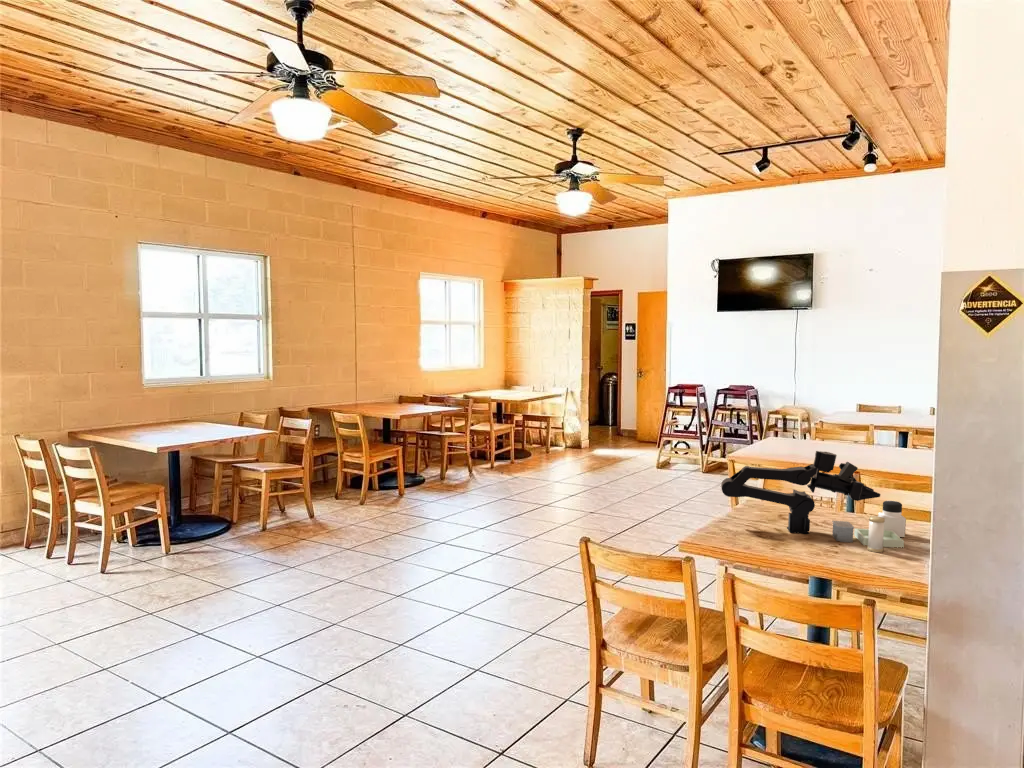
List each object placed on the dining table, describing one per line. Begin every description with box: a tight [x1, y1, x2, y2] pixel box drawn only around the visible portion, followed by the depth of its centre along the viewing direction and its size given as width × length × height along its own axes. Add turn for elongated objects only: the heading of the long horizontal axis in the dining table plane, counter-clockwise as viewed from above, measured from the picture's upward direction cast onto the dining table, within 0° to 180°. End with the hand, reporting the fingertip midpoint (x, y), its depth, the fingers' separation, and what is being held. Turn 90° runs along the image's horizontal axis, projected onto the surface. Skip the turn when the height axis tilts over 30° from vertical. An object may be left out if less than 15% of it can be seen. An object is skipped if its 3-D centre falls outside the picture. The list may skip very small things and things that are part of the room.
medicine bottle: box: [877, 500, 907, 538], centre depth 254 cm, size 7×7×12 cm
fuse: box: [867, 515, 885, 554], centre depth 235 cm, size 5×5×11 cm
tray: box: [853, 527, 905, 549], centre depth 246 cm, size 12×12×2 cm
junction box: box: [831, 520, 855, 544], centre depth 249 cm, size 5×9×5 cm, turn 168°
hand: (876, 493), depth 250 cm, fingers open, 9 cm apart
